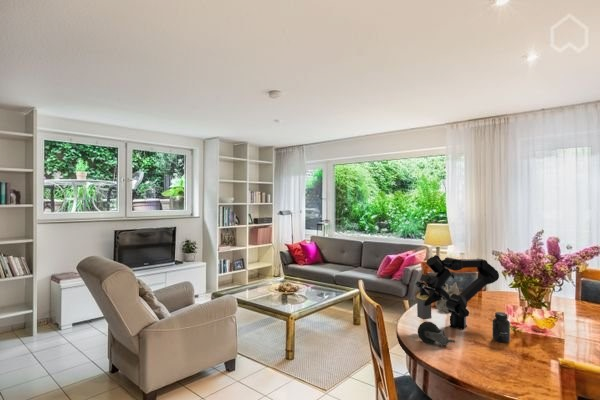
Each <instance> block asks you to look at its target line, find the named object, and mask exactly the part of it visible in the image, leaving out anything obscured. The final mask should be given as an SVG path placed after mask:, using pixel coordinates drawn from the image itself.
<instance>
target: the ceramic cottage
mask: <svg viewBox="0 0 600 400" xmlns="http://www.w3.org/2000/svg"><path fill="white" fill-rule="evenodd" d="M445 285H446V286H445V287H443V289H444V290H445V291H446V292H447V293H448V294H449V295H450V296H451V295H452V294H456V295H459V294H460V290H459V287H458V286H457V282H454V283H453V284H452V285H450V286H449V285H448V284H447V283H445ZM441 299H442V300H439V301H436V302H434V305H435V307H436V308H437V310H439V311H442V312H446V313H449V312H448V309H447V307H446V300H443V296H442V298H441Z"/></svg>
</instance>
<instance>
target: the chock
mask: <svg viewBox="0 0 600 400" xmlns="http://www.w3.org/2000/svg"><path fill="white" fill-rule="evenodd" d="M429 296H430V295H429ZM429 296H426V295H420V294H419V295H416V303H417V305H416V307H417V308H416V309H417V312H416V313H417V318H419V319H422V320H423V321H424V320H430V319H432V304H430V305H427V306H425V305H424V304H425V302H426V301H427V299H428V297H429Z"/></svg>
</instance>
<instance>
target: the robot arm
mask: <svg viewBox="0 0 600 400" xmlns="http://www.w3.org/2000/svg"><path fill="white" fill-rule="evenodd" d="M425 263H426V266H427V267H428V268H429V269H430V270H431V271H432V272H433V273H435V275H433V274H431V275H427V274H424V273H422V274H421V277H420V279H419V280H418V281H416V282H415V286H416V287H417V289H419V291H420V293H419V296H420V295H426V296H429V297H428V299H427V301H426V302H425V304H424V305H425V306H427V305H430V304H431V305H432V304H435V303H436V301H439V300H442V299H441V298H442V296H443V300H446V307H447V309H448V312H447V313H450V315H449V327H451V328H453V329H454V328H455V329H459V330H465V329H466V328H467V327H468V324H467V317H469V315H470V311H469V310H468V309H467V306H468V302H469V301H470V300H471V299H473V297H475V295H477V294H478V293H479V292H480V291H481V290H482V289H483V288H485V287H486V286H487V285H491V284H494V283H495V282H497V281H498V280H499V278H500V274H499V271H498V270H497V269H495V267H494V266H492V265H491V264H489V263H488V261H487V260H485V259H483V258H472V259H471V258H469V259H465V258H464V259H459V258H453V257H447V256H446V257H445V258H444V259H441V258H440V256H439V255H437V254H434V255H433V256H431V257H429V258H427V260H426V262H425ZM465 268H476V270H477V272H478V273H477V277H476V279H475V280H474V281H472V282H471V283H470V284H469V285H468V286H467V287H466V288H464V289H463V291H461V292H459V295H456V294H452V295H451V296H450V295H449V294H448V293H447V292H446V291H445V290H444V287H445V286H446V285H445V284H447V281H448V280H449V279H450V278H451V279H455V275H454V272H458V271H461V270H463V269H465ZM450 270H451V271H450ZM452 271H453V272H452ZM428 292H430V293H428Z"/></svg>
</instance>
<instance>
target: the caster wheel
mask: <svg viewBox="0 0 600 400" xmlns="http://www.w3.org/2000/svg"><path fill="white" fill-rule="evenodd" d="M417 335H418V337H419V339H420V340H421V341H422V342H423V343H425V344H429V345H431V344H435V343H438V344H439V345H440V348H441V347H442V348H444V346H448V344H449V343H453V344H454V343H455V342H456V340H455V339H450V338H448V336H447V335H446V334H445V330H444V329H439V327H438V326H437V324H436V323H434V322H432V321H423V322H422V323H420V324H419V326H418V328H417Z"/></svg>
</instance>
